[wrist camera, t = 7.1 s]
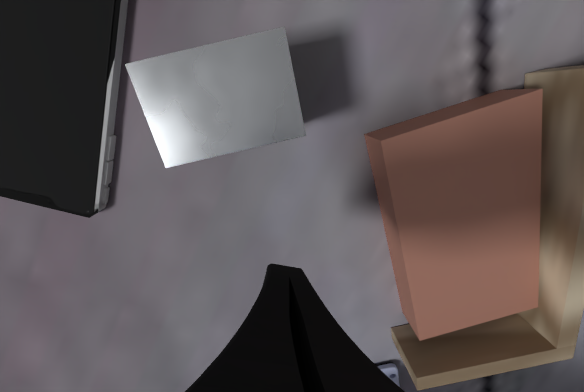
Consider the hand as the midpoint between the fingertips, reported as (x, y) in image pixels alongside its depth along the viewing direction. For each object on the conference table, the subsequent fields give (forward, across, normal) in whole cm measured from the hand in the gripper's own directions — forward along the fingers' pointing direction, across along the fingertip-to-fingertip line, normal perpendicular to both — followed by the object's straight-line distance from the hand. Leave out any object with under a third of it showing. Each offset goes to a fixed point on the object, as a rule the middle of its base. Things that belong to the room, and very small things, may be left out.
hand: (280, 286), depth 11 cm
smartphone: (+8, +14, -6) cm, 17 cm away
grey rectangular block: (+7, +4, -6) cm, 10 cm away
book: (+7, -11, -2) cm, 13 cm away
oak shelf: (+7, -12, -2) cm, 14 cm away
